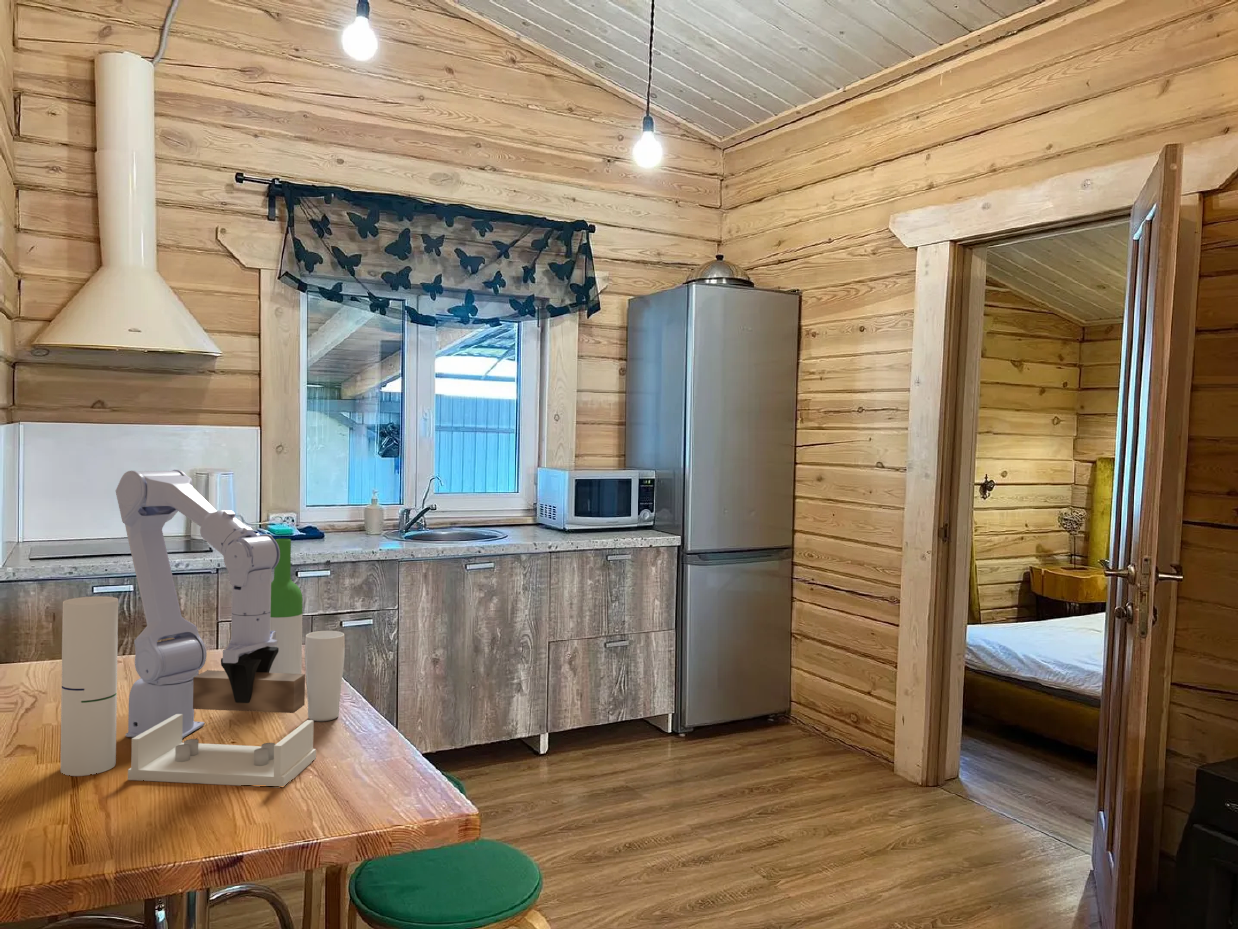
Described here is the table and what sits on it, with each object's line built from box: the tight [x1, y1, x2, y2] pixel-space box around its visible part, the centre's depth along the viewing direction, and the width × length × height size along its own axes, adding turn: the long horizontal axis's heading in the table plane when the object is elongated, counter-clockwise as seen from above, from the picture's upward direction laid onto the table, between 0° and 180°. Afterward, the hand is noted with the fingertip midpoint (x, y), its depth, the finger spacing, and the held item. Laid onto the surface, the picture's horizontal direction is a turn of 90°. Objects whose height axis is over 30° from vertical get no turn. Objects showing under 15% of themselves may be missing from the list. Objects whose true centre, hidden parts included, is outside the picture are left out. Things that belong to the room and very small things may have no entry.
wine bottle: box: [269, 538, 304, 674], centre depth 177 cm, size 8×8×30 cm
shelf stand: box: [127, 714, 317, 786], centre depth 137 cm, size 23×12×6 cm, turn 87°
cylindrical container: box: [60, 595, 119, 777], centre depth 136 cm, size 7×7×25 cm
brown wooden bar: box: [193, 669, 306, 714], centre depth 144 cm, size 16×4×5 cm, turn 87°
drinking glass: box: [304, 630, 346, 722], centre depth 162 cm, size 7×7×15 cm
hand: (249, 697), depth 144 cm, fingers closed on brown wooden bar, 4 cm apart
